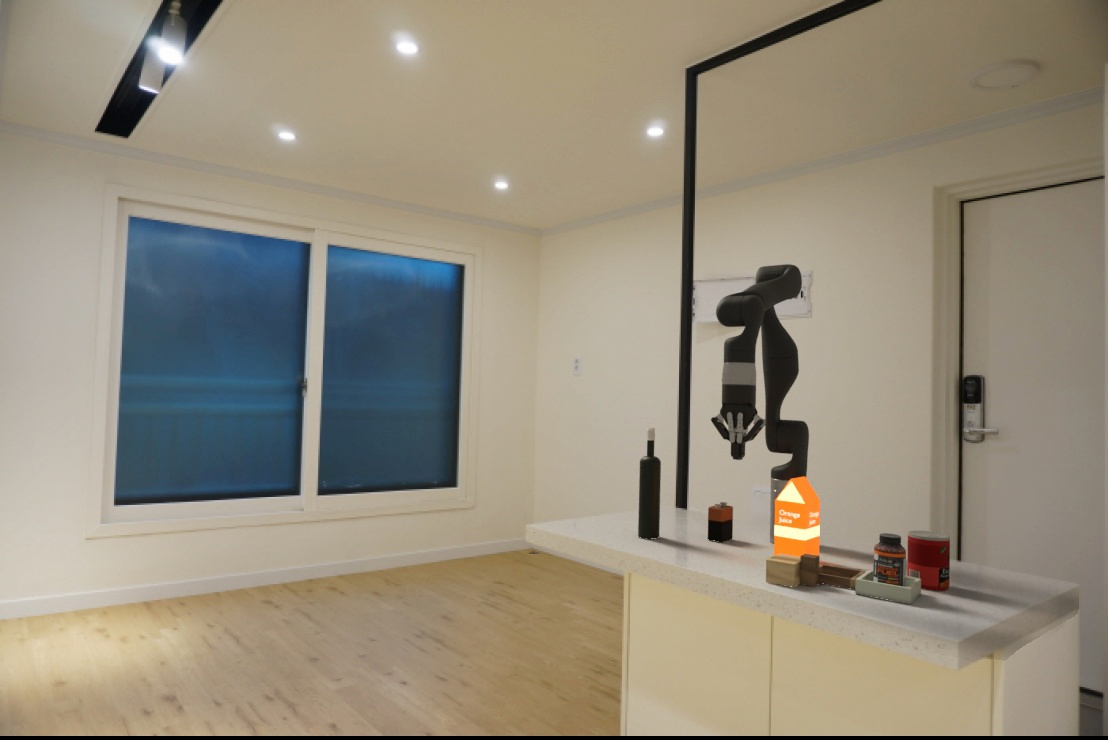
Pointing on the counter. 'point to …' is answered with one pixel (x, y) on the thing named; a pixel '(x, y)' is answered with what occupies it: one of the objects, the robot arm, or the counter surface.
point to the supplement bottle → (889, 560)
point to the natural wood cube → (783, 570)
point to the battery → (720, 522)
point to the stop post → (809, 569)
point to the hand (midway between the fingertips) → (737, 459)
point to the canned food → (929, 559)
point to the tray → (888, 588)
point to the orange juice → (797, 519)
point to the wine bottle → (649, 491)
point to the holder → (838, 576)
